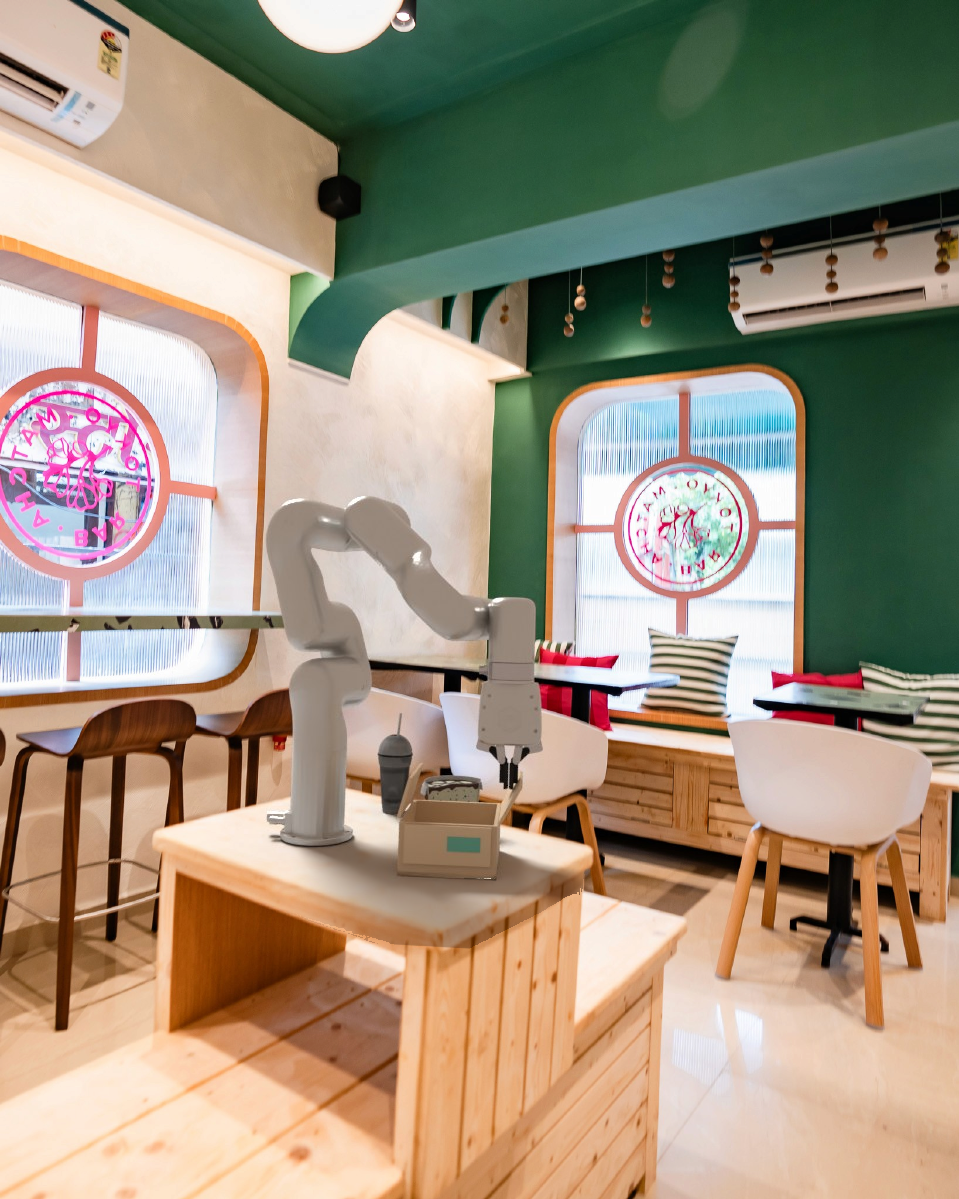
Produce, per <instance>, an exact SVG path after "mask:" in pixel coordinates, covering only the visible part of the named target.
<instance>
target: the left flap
mask: <svg viewBox="0 0 959 1199" xmlns="http://www.w3.org/2000/svg"><path fill="white" fill-rule="evenodd" d="M423 766H424V763H423V762H420V763H418V765H417V766H416V767H415V769H414V770H412V772H411V774H409V778H408V781H407V785H406V788H405V791H404V795H403V798H402V801H401V804H400V808H399V811H398V814H396V818H398V819H401V818H402V817H403V815H404V814H405V812H406V811H407V809H408V808H409V806H410V805H411V803H412V802H413V800H414V799H413V798H414V795H415V791H416V788H417V785H418V782H419V778H420V775H421V771H422V768H423Z"/></svg>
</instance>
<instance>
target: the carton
mask: <svg viewBox="0 0 959 1199" xmlns="http://www.w3.org/2000/svg"><path fill="white" fill-rule="evenodd" d="M501 803H502V802H501ZM501 803H500V802H498V803H497V802H479V801H478V802H458V801H435V800H425V799H412V801H411V802H410V804H409V805H408V807H407V808H406V810H405V811H404V813H403V814H402V816H401V817H400V820H399V821H398V842H397V843H398V844H397V846H398V849H397V872H396V875H397V876H408V877H422V878H423V877H425V878H427V877H428V878H445V879H446V878H448V879H464V878H480V879H479V880H484V878H491V879H496V880H497V876H496V875H498V874H497V873H498V868H497V867H498V866H499V858H500V852H501V851H500V850H501V849H500V848H501V846H500V845H501V824H500V823H499V816H500V809H501Z"/></svg>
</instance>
